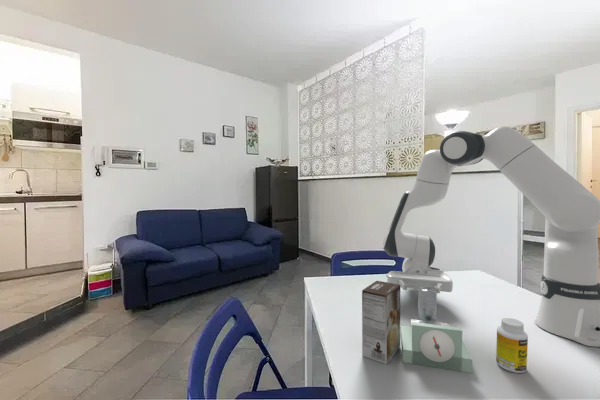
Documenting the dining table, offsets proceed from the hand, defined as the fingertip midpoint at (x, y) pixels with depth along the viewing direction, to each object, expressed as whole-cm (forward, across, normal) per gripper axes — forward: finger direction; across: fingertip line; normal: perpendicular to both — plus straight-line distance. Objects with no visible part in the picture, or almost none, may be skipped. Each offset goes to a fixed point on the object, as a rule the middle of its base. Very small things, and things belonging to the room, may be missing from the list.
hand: (420, 289), depth 92 cm
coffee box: (+25, -11, +8) cm, 29 cm away
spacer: (+12, 0, +8) cm, 15 cm away
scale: (+22, 0, +8) cm, 24 cm away
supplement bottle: (+23, +16, +8) cm, 30 cm away
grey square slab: (+21, 0, +5) cm, 21 cm away
